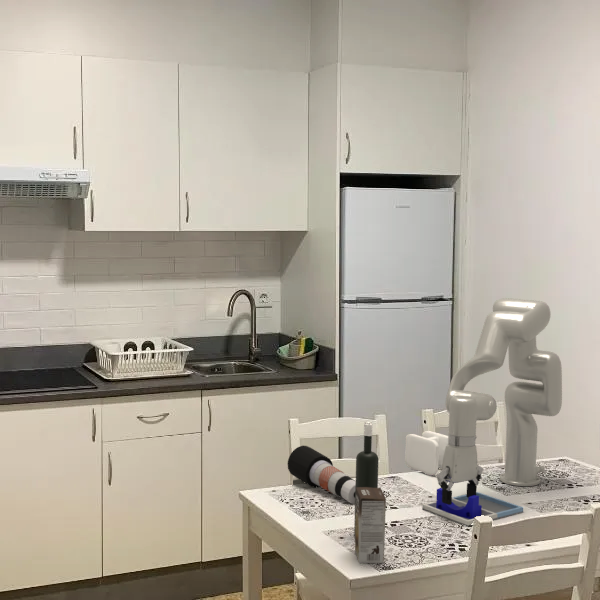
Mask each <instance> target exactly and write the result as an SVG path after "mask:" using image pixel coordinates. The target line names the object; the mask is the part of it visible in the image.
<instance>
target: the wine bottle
mask: <svg viewBox="0 0 600 600" xmlns="http://www.w3.org/2000/svg"><path fill="white" fill-rule="evenodd" d="M372 437H373V422H372V421H366V422H364V423H363V450H362V451H360V452H359V453H357V455H356V459H355V481H356V484H355V504H354V516H355V515H356V487H371V488H379V455H377V453H376V452H374V451H372V445H373V444H372V443H373V439H372ZM353 531H354V532H353V536H354V537H355V522H354V529H353Z"/></svg>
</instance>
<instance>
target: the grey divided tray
mask: <svg viewBox="0 0 600 600" xmlns="http://www.w3.org/2000/svg"><path fill="white" fill-rule="evenodd" d="M476 496H479V505H481V506H482V509H481V515H484V516H489V517H491V518H492V519H493V520H492V521H495V520H498V519H499V520H500V519H503V518H507V517H511V516H514V515H515V516H516V515H518V514H522V513H524V506H522V505H519V504H518V505H517V504H514V503H511V502H508V501H506V500H503V499H500V498H497V497H494V496H491V495H488V494H484V493H482V492H480V491H476ZM452 502H453V503H454V504H455V505H456V506H458V507H462V506H466V504H467V502H468V497H467V496H466V494H462V495H458V496H454V497H453V496H452ZM421 506H422V509H421V510H423V511H426V512H428V513H430V514H433V515H436V516H438V517H442V518H443V519H447V520H450V521H452V522H454V523H457V524H459V523H460V525H462V524H463V526H464V525H466V526H465V527H467V526H469V525H471V524H472V523H473V520H474V519H468V518H464V517H461V516H457V515H453V514H450V513H448V512H445V511H442V510H440V509H437V508H436V501H431V502H427V503H423V504H422V505H421ZM469 527H470V526H469Z"/></svg>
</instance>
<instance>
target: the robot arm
mask: <svg viewBox="0 0 600 600" xmlns="http://www.w3.org/2000/svg"><path fill="white" fill-rule="evenodd" d="M550 319H551V309H550V306H549V305H548V304H547V303H546V302H544V301H540V300H535V299H534V300H532V299H531V300H529V299H521V298H506V297H505V298H499V299H497V300H495V301H494V302H493V305H492V312H489V313H488V315H486V317H485V320H484V323H483V326H482V329H481V334H480V336H479V339H478V343H477V346H476V349H475V354H474V355H473V356H472V357H471V358H470V359H468V360H467V361H466V362H465V363H463V364H462V366H460V367H459V368H458V370H456V372H454V374H453V376H452V378H451V381H450V383H449V386H448V388H447V394H446V398H445V408H446V411H447V412H448V414H449V415H448V434H447V436H448V445H446V447H445V451H444V456H443V463H442V469H441V470H440V471H439V472H438V473H437V474H436V480H437V484H438V485H439V486H440V488H441V489H442V502H443V503H445V504H448V505H451V504H452V498H453V491H452V488H453V486H454V484H458V483H464V482H467V483H466V493H465V495H466V496H467V497H470V496H473V495H476V492H478V491H477V488H478V487H477V486H478V485H479V482H480V480H481V478H482V474H483V472H484V467H482V466H480V465H479V463H478V450H477V449H478V448H477V445H476V439H477V422H478V421H488V420H490V419H492V418H493V417H494V415H495V413H496V412H497V407H498V405H497V402H496V399H495V398H494V396H492V395H490V394H487V393H482V392H476V391H468V390H465V388H466V386H467V385H468V384H469V382H470V381H472V379H474V378H476V377H479V376H481V375H484V374H486V373H489V372H492V371H496V370H498V369H501V367H502V366H503V365H504V362H505V359H506V355H507V354H508V355H507V356H508V369H509V373H510V375H511V376H512V377H513V378H516V379H520V380H525V381H514V382H511V383H509V384H508V385H507V386H506V387H505V390H504V403H505V409H506V410H505V411H506V412H505V413H506V434H505V435H506V436H505V455H504V456H505V457H504V458H505V459H504V472H503V473H501V474H500V475H499V481H500V482H501V483H504V484H506V485H510V486H516V487H533V486H538V485H539V484H541V478H540V477H539V476H538V474H539V473H544V472H545V470H546V469H545V466H544V465H540V466H537V450H538V449H537V447H538V425H537V422H536V420H535V418H534V416H533V415H537V416H544V417H555V416H557V415H558V414H559V413H560V411H561V410H562V404H563V382H562V381H563V370H562V362H561V359H560V357H559V355H558V354H557V353H555V352H553V351H547V350H539V349H538V347H537V336H538V335H540V334H541V332H543V331H544V330H545V329H546V327H547V326H548V325H549V322H550ZM507 351H508V353H507ZM527 381H533V382H527ZM536 382H540V383H536Z"/></svg>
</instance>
